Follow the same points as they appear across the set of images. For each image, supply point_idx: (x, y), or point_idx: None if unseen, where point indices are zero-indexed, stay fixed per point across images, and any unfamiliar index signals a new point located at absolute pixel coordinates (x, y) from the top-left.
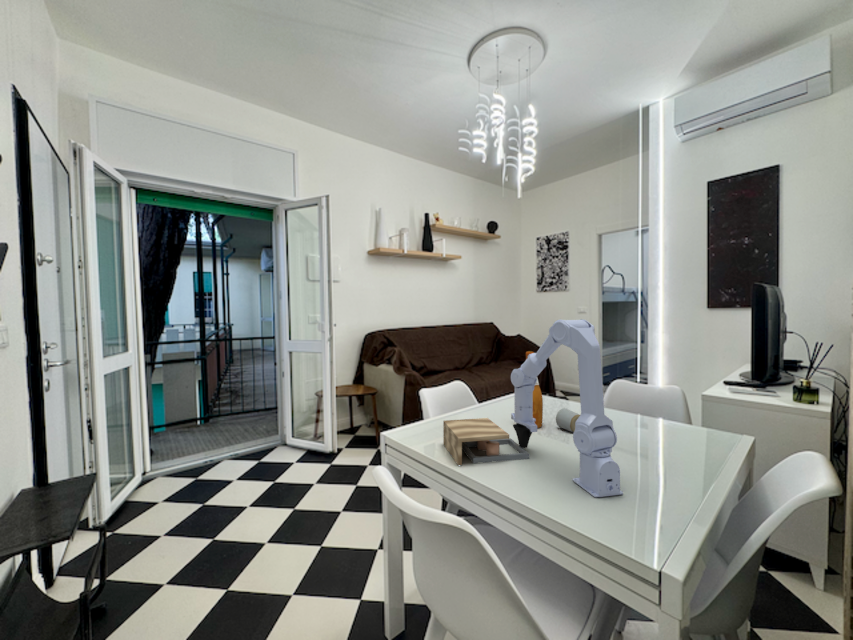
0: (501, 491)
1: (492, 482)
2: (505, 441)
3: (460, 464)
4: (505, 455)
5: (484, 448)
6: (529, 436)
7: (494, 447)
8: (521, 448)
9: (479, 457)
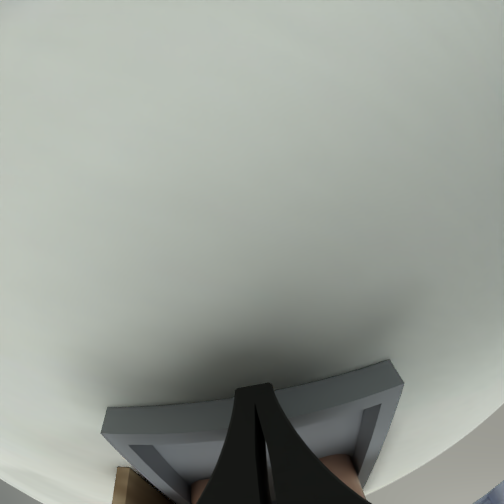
0: (498, 407)
1: (465, 429)
2: (141, 447)
3: None
4: (377, 455)
5: None
6: (317, 461)
7: None
8: (308, 419)
9: None
